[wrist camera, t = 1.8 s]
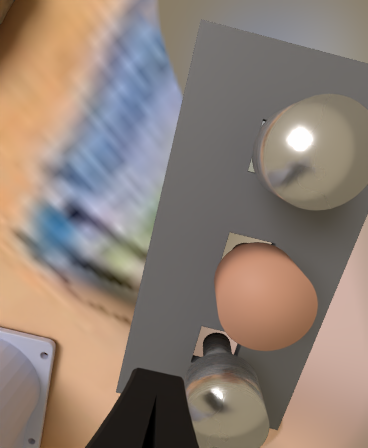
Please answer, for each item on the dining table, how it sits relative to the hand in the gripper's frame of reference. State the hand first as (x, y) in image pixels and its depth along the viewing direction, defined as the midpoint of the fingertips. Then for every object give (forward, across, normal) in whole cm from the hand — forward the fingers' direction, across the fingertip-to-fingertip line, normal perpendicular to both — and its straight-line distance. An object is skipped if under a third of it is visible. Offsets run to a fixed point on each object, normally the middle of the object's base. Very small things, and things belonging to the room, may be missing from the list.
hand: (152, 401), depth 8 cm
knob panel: (+9, -3, -2) cm, 10 cm away
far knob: (+7, -3, +3) cm, 8 cm away
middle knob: (+7, -3, -2) cm, 8 cm away
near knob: (+7, -3, -7) cm, 11 cm away
